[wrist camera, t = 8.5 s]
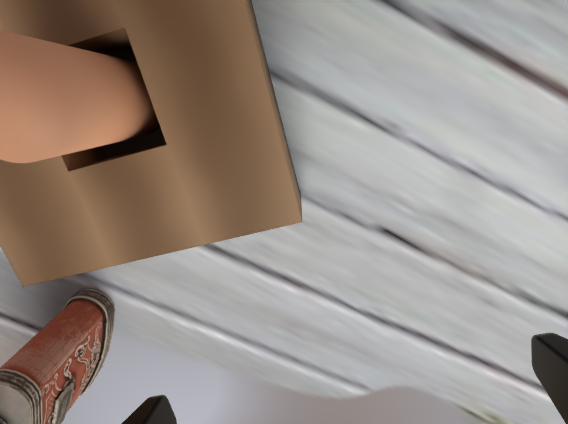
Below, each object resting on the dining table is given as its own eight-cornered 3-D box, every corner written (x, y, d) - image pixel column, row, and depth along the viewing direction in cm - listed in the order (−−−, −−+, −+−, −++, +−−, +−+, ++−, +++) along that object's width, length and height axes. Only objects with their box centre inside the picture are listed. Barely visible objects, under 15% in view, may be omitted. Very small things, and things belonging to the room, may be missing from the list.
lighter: (95, 393, 25) (-32, 582, 15) (47, 377, 24) (-113, 559, 15) (124, 300, 22) (-5, 455, 13) (71, 281, 22) (-103, 424, 12)
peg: (178, 126, 18) (91, 145, 10) (113, 144, 18) (-17, 176, 11) (152, 51, 17) (34, 12, 9) (84, 72, 17) (-83, 51, 10)
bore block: (224, -104, 15) (201, -168, 12) (301, 197, 20) (302, 222, 16) (-54, -8, 17) (-154, -38, 13) (72, 252, 21) (22, 286, 17)
